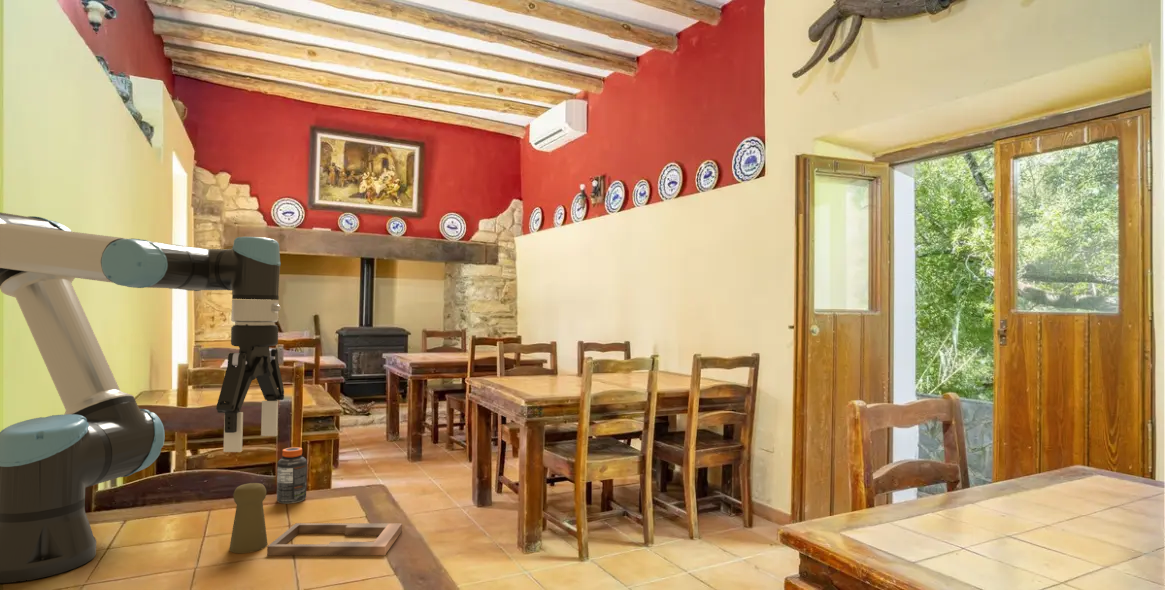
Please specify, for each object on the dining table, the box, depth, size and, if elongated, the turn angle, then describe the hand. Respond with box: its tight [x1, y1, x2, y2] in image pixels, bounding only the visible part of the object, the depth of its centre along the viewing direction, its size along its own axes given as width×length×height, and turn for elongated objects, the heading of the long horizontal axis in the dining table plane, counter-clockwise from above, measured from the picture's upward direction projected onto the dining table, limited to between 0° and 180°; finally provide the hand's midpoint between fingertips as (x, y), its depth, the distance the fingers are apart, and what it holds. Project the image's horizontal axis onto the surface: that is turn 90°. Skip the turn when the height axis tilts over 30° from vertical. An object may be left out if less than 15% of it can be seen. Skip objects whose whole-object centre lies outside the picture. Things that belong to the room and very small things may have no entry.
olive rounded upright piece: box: [229, 482, 268, 554], centre depth 114 cm, size 6×6×11 cm
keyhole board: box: [266, 522, 403, 556], centre depth 116 cm, size 20×12×2 cm, turn 92°
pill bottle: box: [276, 446, 308, 504], centre depth 142 cm, size 6×6×11 cm
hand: (252, 443), depth 114 cm, fingers open, 13 cm apart
